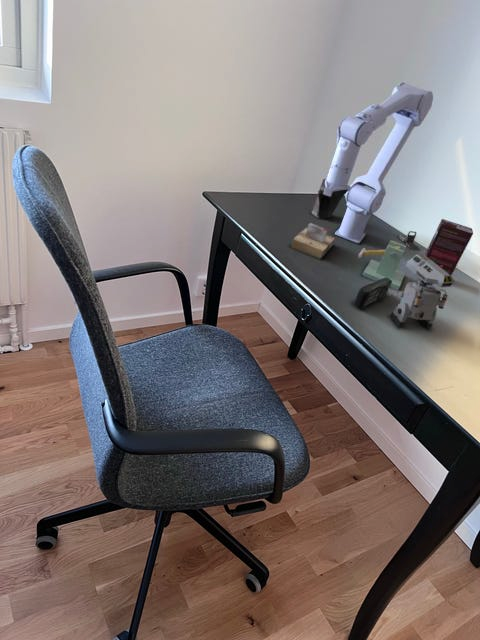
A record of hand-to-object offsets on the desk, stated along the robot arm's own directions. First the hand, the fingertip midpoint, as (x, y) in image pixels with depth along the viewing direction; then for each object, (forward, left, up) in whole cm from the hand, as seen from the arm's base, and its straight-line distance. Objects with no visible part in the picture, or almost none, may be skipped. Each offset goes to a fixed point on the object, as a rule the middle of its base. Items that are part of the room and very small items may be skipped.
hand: (325, 214), depth 130 cm
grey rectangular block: (+2, 0, -7) cm, 7 cm away
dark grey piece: (+18, +21, -10) cm, 29 cm away
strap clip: (-30, +23, -10) cm, 39 cm away
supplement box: (-11, +33, -10) cm, 36 cm away
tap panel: (+2, -1, -10) cm, 10 cm away
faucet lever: (+2, +18, -5) cm, 19 cm away
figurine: (+20, +30, -10) cm, 37 cm away
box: (-25, -6, -10) cm, 28 cm away
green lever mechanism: (+2, +21, -10) cm, 23 cm away
